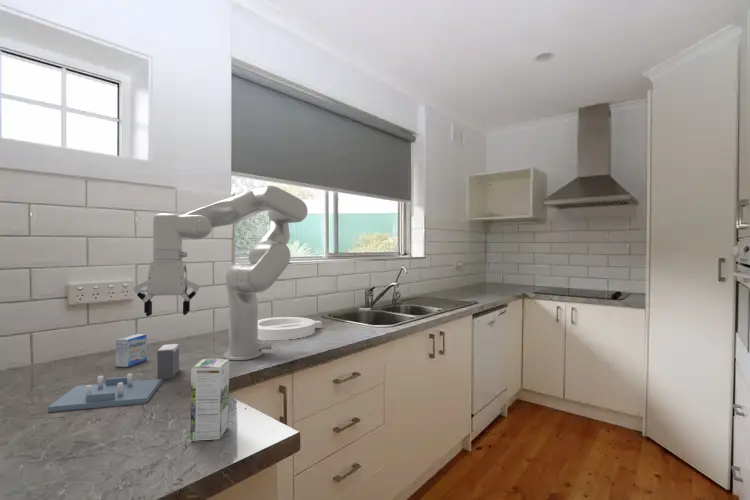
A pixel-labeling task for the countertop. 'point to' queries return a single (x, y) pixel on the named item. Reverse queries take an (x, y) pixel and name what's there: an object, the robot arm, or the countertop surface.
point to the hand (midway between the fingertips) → (167, 314)
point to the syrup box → (209, 399)
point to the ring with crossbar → (286, 328)
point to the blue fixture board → (107, 394)
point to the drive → (167, 361)
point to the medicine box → (131, 350)
